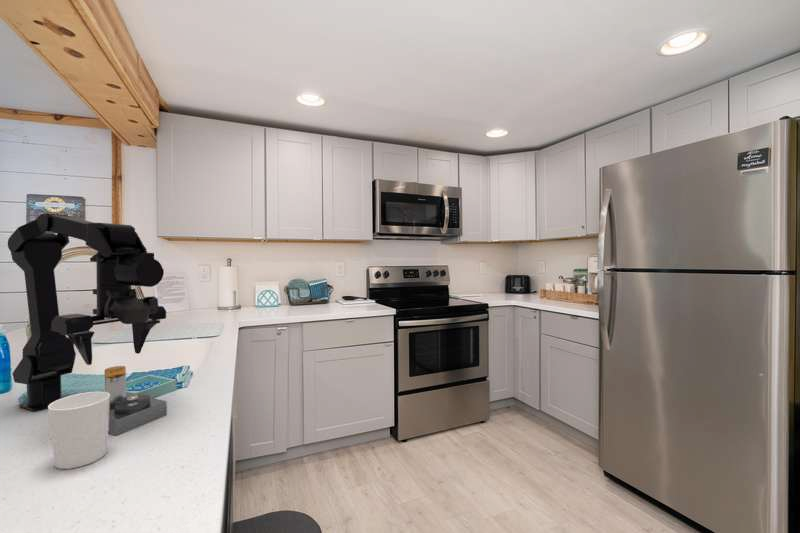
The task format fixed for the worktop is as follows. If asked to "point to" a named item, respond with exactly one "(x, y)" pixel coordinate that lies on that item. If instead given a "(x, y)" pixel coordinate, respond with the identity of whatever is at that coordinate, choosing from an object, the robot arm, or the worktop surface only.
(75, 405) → the white cup
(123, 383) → the grey orange-capped bottle
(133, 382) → the tray
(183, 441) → the worktop surface
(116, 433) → the tensioner block
